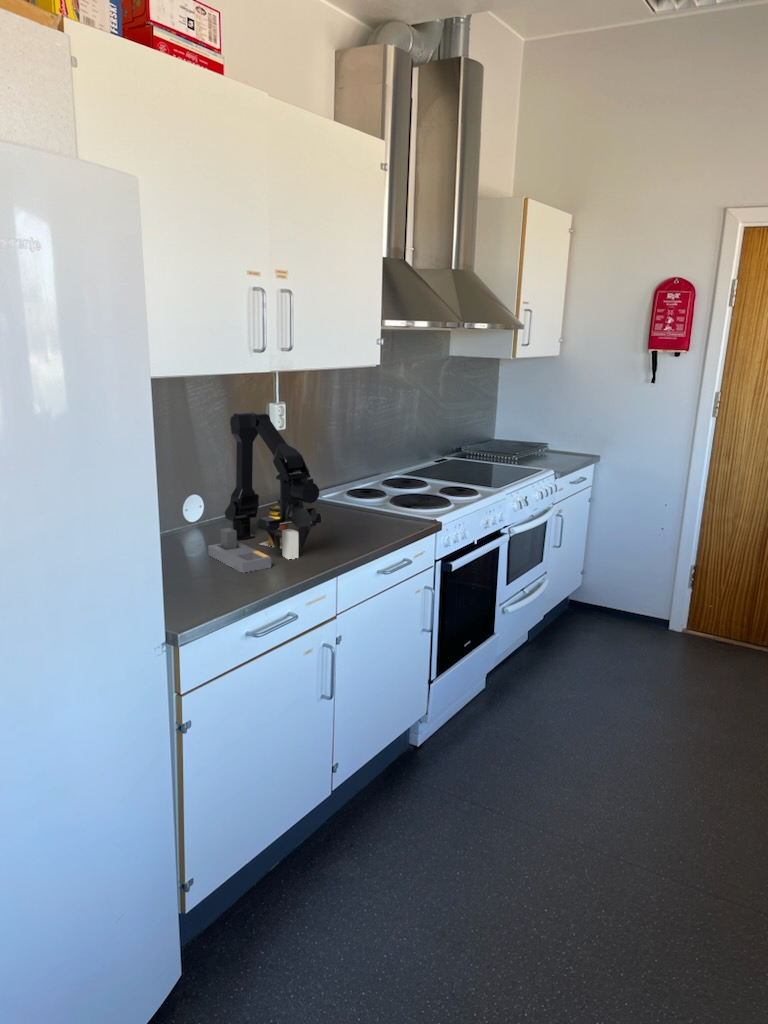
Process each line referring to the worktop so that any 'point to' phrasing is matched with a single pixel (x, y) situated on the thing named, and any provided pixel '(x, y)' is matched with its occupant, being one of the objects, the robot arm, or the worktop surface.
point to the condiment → (274, 514)
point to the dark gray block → (228, 538)
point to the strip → (240, 557)
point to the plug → (290, 544)
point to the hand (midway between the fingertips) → (290, 548)
